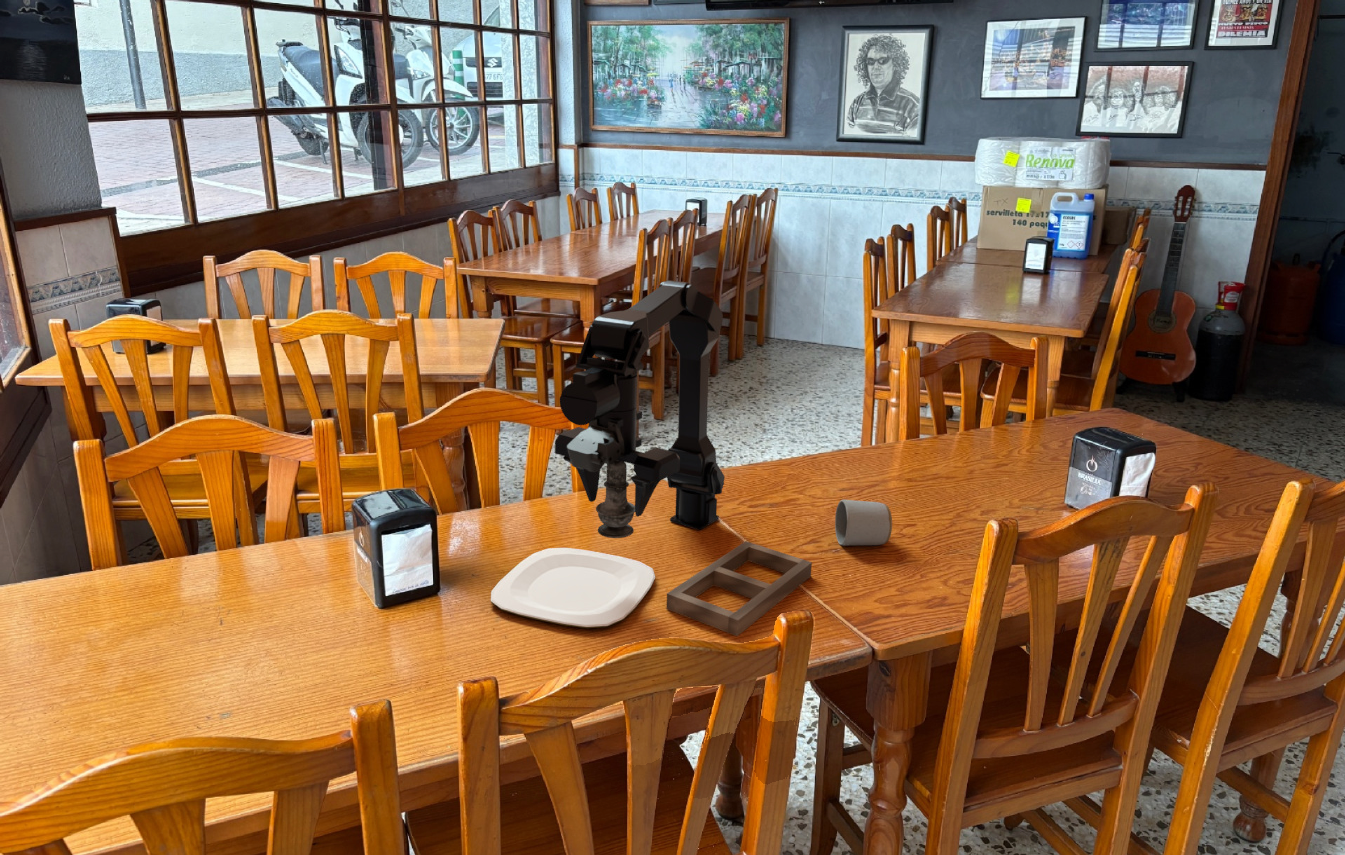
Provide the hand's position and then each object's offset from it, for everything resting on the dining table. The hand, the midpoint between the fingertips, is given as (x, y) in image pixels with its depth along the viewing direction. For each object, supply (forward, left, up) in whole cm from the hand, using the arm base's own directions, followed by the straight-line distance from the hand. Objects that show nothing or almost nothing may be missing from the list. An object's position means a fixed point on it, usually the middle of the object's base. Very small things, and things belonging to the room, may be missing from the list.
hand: (615, 508), depth 134 cm
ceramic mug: (+22, +39, -14) cm, 47 cm away
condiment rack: (+16, +11, -13) cm, 23 cm away
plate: (-4, -4, -14) cm, 15 cm away
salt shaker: (0, 0, -4) cm, 4 cm away
